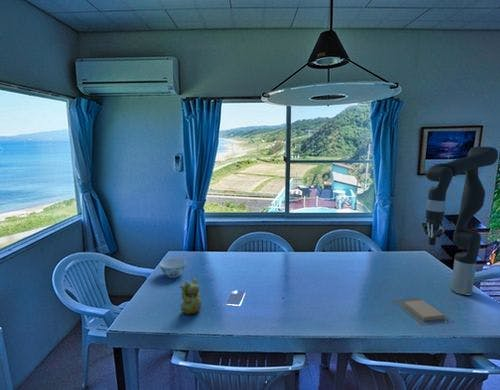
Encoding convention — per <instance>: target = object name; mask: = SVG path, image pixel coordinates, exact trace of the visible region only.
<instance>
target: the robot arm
mask: <svg viewBox="0 0 500 390" xmlns="http://www.w3.org/2000/svg"><path fill="white" fill-rule="evenodd" d="M498 159H499V151H498V149H496V148H495V147H492V146H473V147H471V148H470V149H469V151H468V153H467V156H466V157H460V158H457V159H453V160H451V161H448V162H445V163H440V164H439V163H438V164H435V165H432V166H430V167H429V168H428V169H427V170H426V171H425V176H426V178H427V180H428V181H431V182H438V183H437V186H431V187H429V189H428V194H427V202H426V208H425V217H424V218H425V222H422V223H421V225H422V228H423V231H424V233H425V235H427V237H428V242H427V243H428V245H430V246H435V245H436V240H437V238H440V237H442V236H443V234H444V233H446V231H447V229H446V228H443V221H444V219H445V214H446V213H445V212H446V198H447V197H446V196H447V191H448V189H449V187H450V184H451V182H452V180H453V177H456V176H459V175H461V174H463V173H465V177H464V178H465V179H464V186H463V190H462V195H461V201H460V206H459V207H460V209H459V213H458V214H459V215H458V218H457V222H456V224H455V229H454V231H453V237H452V241H453V244H454V245H455V246H457V247H460V248H464V249H467V250H466V251H465V252H456V253H455V255H454V262H453V270H452V277H451V284H450V285H451V286H450V290H451V289H452V290H453V291H455V292H458V293H461V294H471V293H472V294H473V291H474V290H473V289H474V282H475V275H476V268H477V260H478V257H479V253H480V247H481V242H482V237H481V233H480V232H478V231H474V230H469V229H467V226H468V223H469V221H470V220H471V219H472V218H473V217H474V216H475V215H476V214H477V213H478V212H480V210H481V209H482V208H483V206H484V203H485V197H486V190H485V188H484V185H483V183H482V182H481V180H480V177H479V168H482V167H483V168H484V167H489V166H493V165H494V164H495V163H497V161H498Z"/></svg>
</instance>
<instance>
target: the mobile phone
mask: <svg viewBox="0 0 500 390" xmlns="http://www.w3.org/2000/svg"><path fill="white" fill-rule="evenodd" d="M246 292H247V291H245V290H232V291H231V292H230V294H229V296H228V298H227V300H226V302H225V306H227V307H228V306H229V307H237V308H238V307H241V306H242V303H243V301H244V298H245V295H246Z"/></svg>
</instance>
